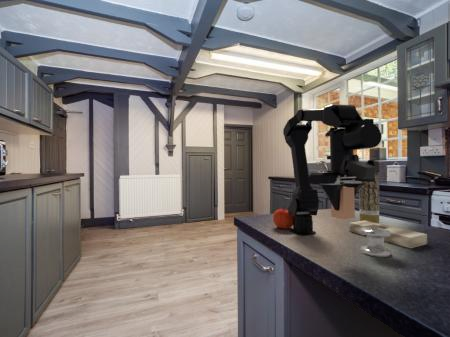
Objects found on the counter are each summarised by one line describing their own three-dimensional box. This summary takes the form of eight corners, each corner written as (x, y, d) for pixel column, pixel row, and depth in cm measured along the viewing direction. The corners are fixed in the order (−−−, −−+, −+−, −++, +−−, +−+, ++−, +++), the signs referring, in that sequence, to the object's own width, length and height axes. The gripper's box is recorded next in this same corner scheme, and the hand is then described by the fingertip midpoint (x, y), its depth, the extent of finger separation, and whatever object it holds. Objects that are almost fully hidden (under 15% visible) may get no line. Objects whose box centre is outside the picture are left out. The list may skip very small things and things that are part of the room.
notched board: (349, 231, 88) (349, 222, 88) (364, 228, 91) (364, 220, 91) (410, 248, 70) (410, 237, 70) (427, 244, 73) (427, 234, 73)
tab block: (331, 216, 67) (330, 187, 67) (342, 215, 69) (341, 186, 69) (343, 219, 63) (343, 188, 64) (354, 217, 65) (354, 187, 65)
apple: (268, 227, 94) (268, 206, 94) (282, 224, 99) (282, 204, 99) (285, 232, 88) (285, 209, 88) (299, 228, 93) (299, 207, 93)
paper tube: (382, 226, 94) (382, 160, 94) (362, 225, 96) (362, 161, 95) (375, 222, 101) (375, 161, 100) (357, 221, 102) (357, 161, 102)
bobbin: (354, 250, 69) (354, 228, 68) (371, 246, 71) (371, 226, 71) (379, 259, 62) (379, 235, 62) (397, 254, 65) (397, 232, 65)
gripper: (341, 148, 55) (342, 218, 55) (394, 149, 63) (396, 211, 63) (306, 151, 65) (307, 210, 65) (355, 152, 73) (356, 205, 73)
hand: (342, 209), depth 66 cm, fingers closed on tab block, 4 cm apart
